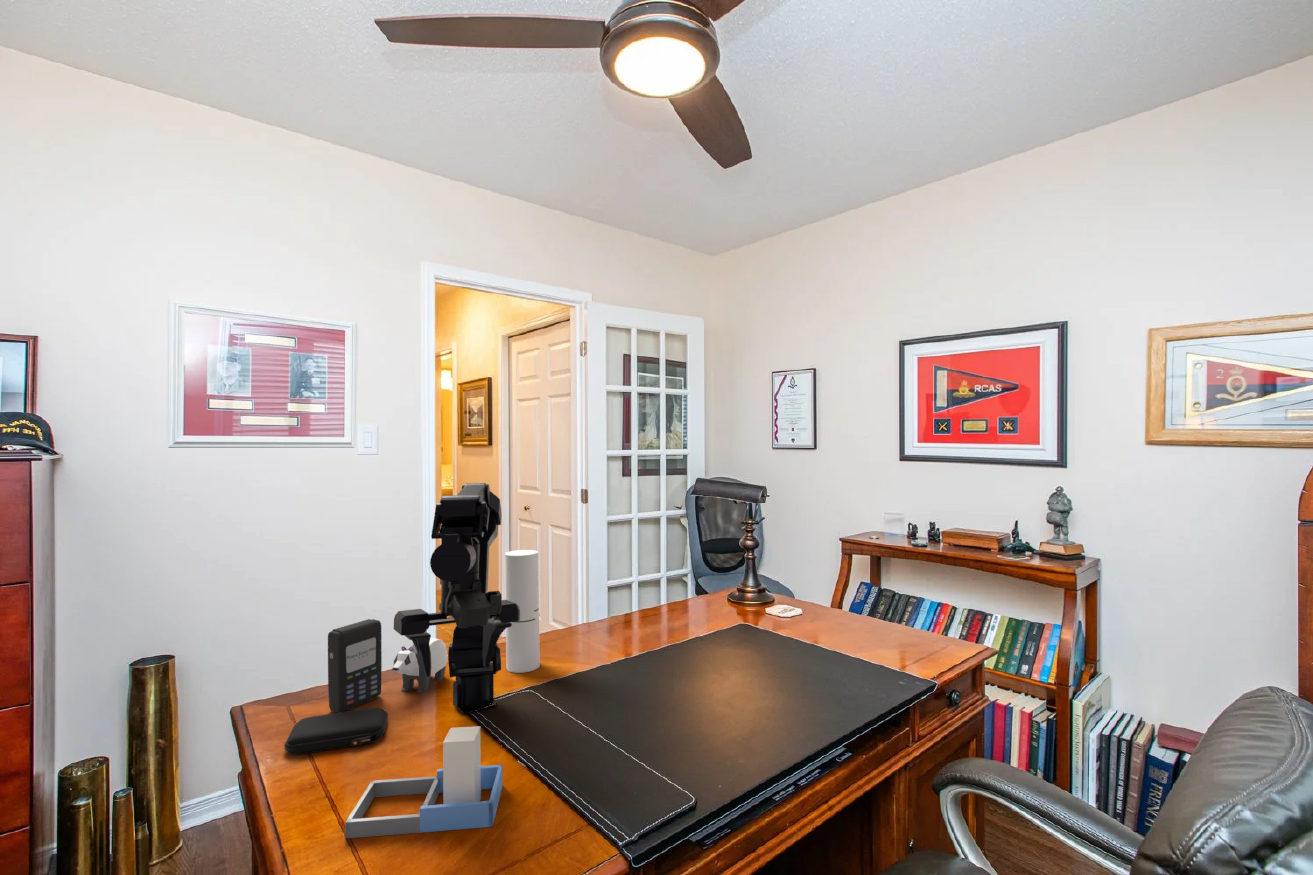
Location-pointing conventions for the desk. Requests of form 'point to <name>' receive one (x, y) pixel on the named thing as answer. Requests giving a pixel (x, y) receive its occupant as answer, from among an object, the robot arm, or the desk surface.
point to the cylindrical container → (523, 610)
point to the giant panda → (412, 667)
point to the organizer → (425, 807)
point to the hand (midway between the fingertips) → (457, 671)
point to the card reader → (354, 664)
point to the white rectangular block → (462, 765)
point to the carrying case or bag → (336, 730)
